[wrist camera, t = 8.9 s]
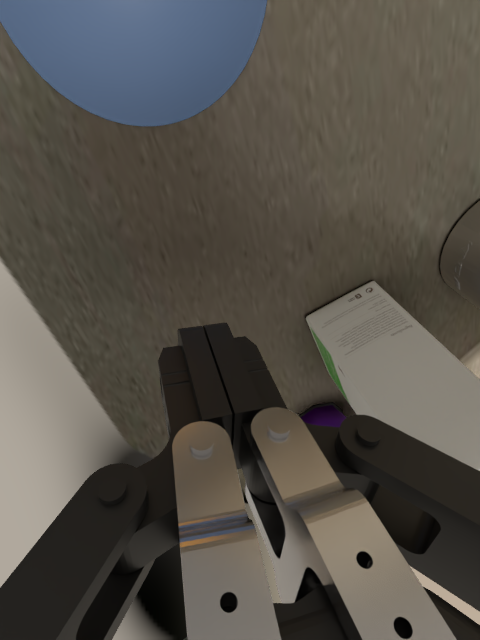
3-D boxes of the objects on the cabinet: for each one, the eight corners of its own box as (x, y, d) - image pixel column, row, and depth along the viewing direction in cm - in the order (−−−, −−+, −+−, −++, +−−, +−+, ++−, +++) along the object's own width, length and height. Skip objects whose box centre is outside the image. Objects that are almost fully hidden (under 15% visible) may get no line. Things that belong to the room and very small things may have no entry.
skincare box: (302, 314, 31) (429, 497, 19) (378, 274, 31) (554, 434, 19) (328, 375, 37) (440, 548, 25) (393, 342, 36) (537, 500, 24)
